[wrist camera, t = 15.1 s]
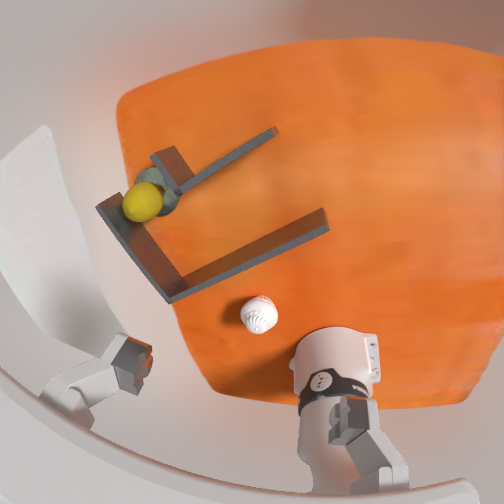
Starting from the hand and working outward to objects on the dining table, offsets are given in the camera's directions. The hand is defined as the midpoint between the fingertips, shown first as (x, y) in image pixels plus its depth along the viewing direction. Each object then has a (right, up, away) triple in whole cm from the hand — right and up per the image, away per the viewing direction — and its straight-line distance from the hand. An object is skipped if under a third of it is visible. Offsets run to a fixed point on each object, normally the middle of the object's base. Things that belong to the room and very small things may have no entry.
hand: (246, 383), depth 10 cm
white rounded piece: (+2, -3, +38) cm, 38 cm away
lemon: (-15, +14, +31) cm, 37 cm away
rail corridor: (-6, +13, +30) cm, 33 cm away
